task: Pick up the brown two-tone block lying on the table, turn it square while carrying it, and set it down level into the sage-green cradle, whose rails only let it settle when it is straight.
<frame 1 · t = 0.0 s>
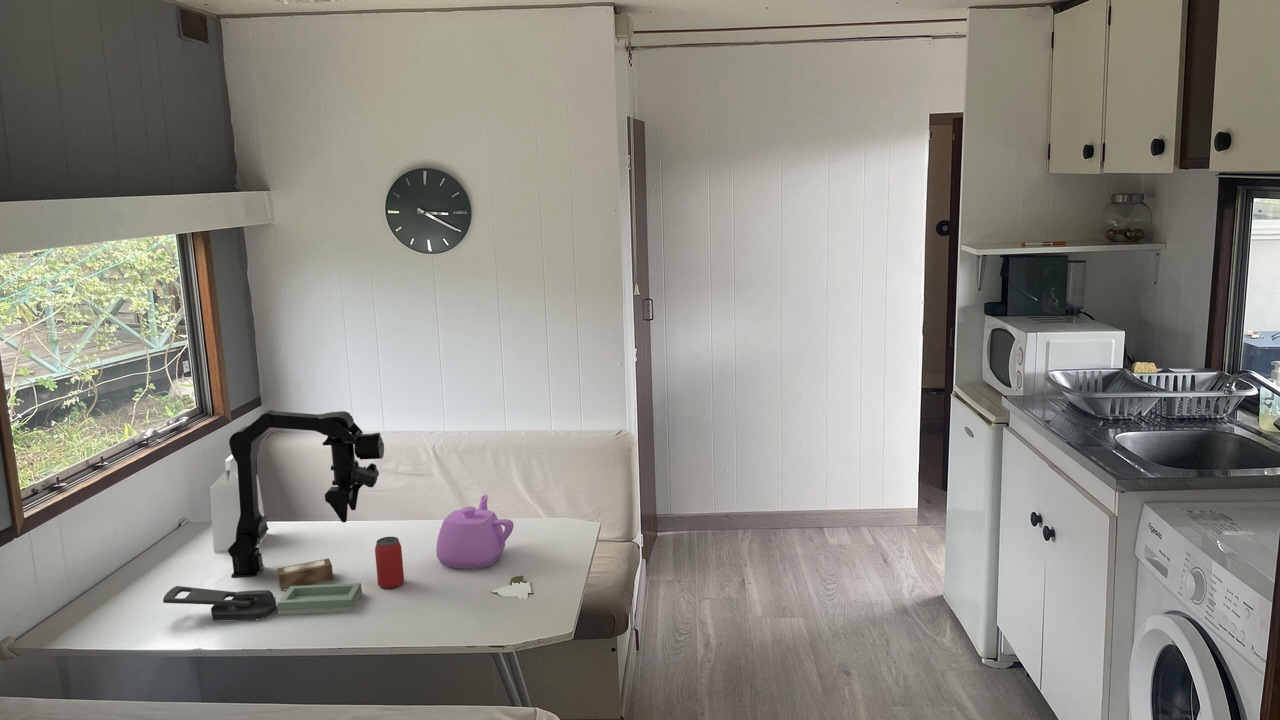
hand: (349, 516, 253), 15 cm above the table, tool pointing down, fingers open, 9 cm apart
map: (512, 596, 236), on the table
cradle: (321, 604, 234), on the table
zipper pull: (223, 615, 230), on the table
beer can: (391, 585, 244), on the table
teapot: (472, 560, 258), on the table
brown two-tone block: (306, 582, 247), on the table
milk: (241, 543, 276), on the table
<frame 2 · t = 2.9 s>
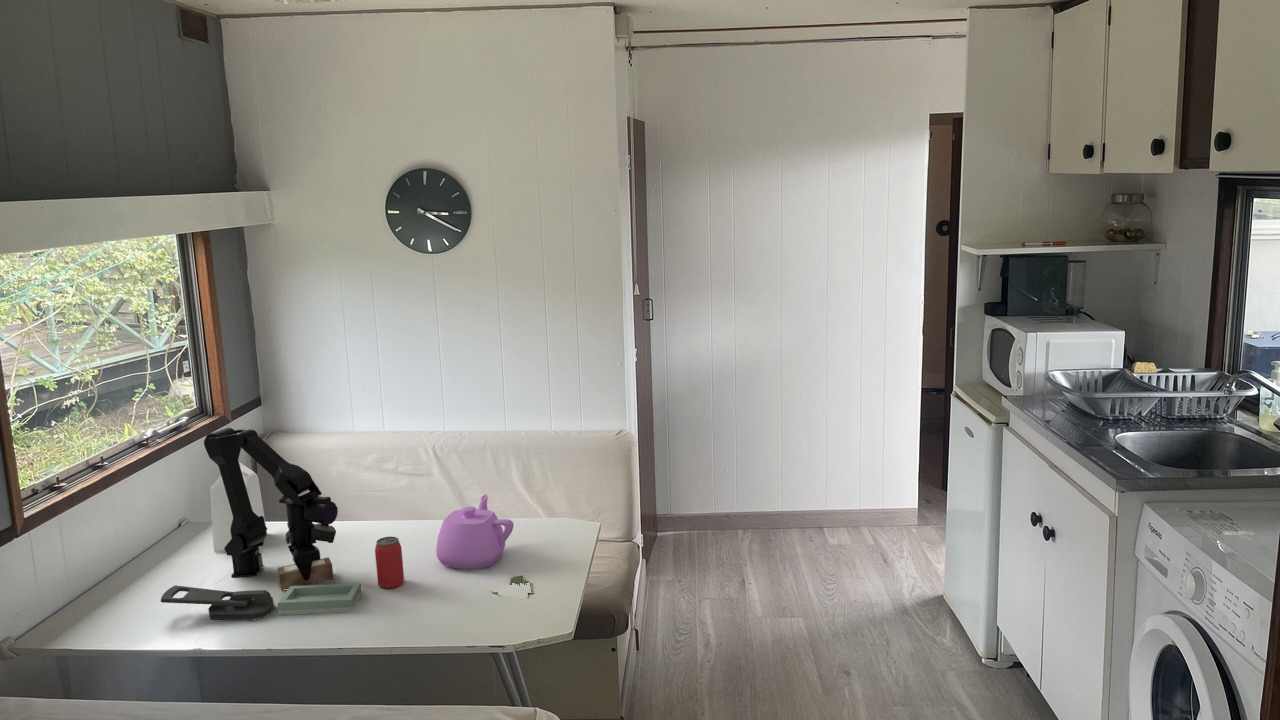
hand: (305, 576, 247), 2 cm above the table, tool pointing down, fingers closed on brown two-tone block, 5 cm apart
brown two-tone block: (306, 581, 247), on the table, touching gripper
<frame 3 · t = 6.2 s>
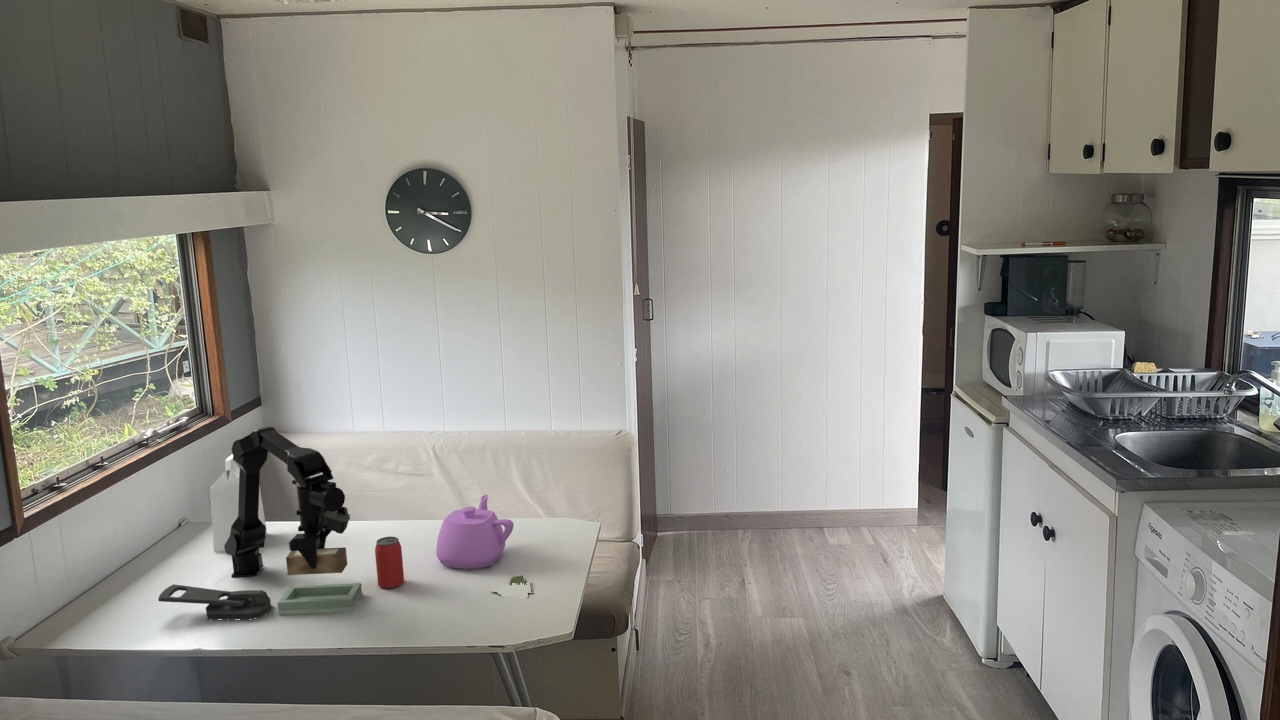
hand: (317, 563, 232), 11 cm above the table, tool pointing down, fingers closed on brown two-tone block, 5 cm apart
brown two-tone block: (317, 569, 232), point 9 cm above the table, touching gripper
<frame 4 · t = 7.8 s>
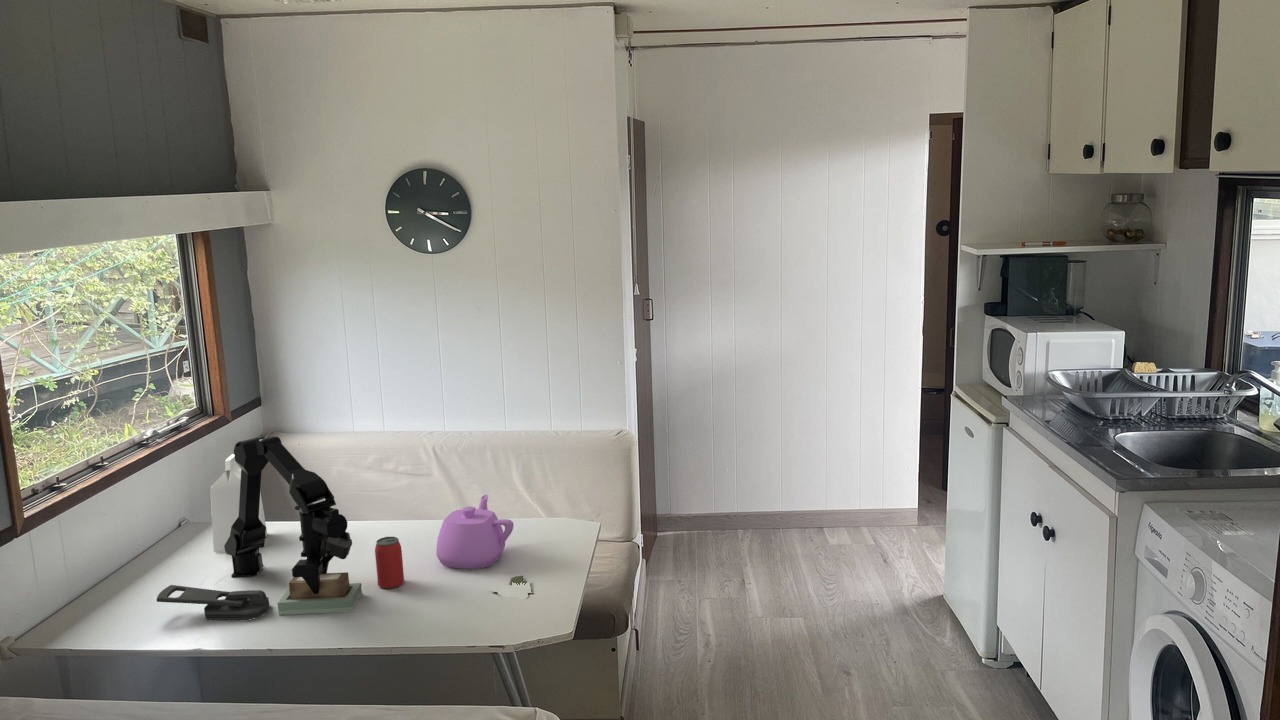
hand: (319, 588, 233), 4 cm above the table, tool pointing down, fingers closed on brown two-tone block, 5 cm apart
brown two-tone block: (320, 594, 233), point 2 cm above the table, touching gripper
when the fingers open (4 cm above the table, at t = 8.0 s): brown two-tone block drops 1 cm, resting on cradle.
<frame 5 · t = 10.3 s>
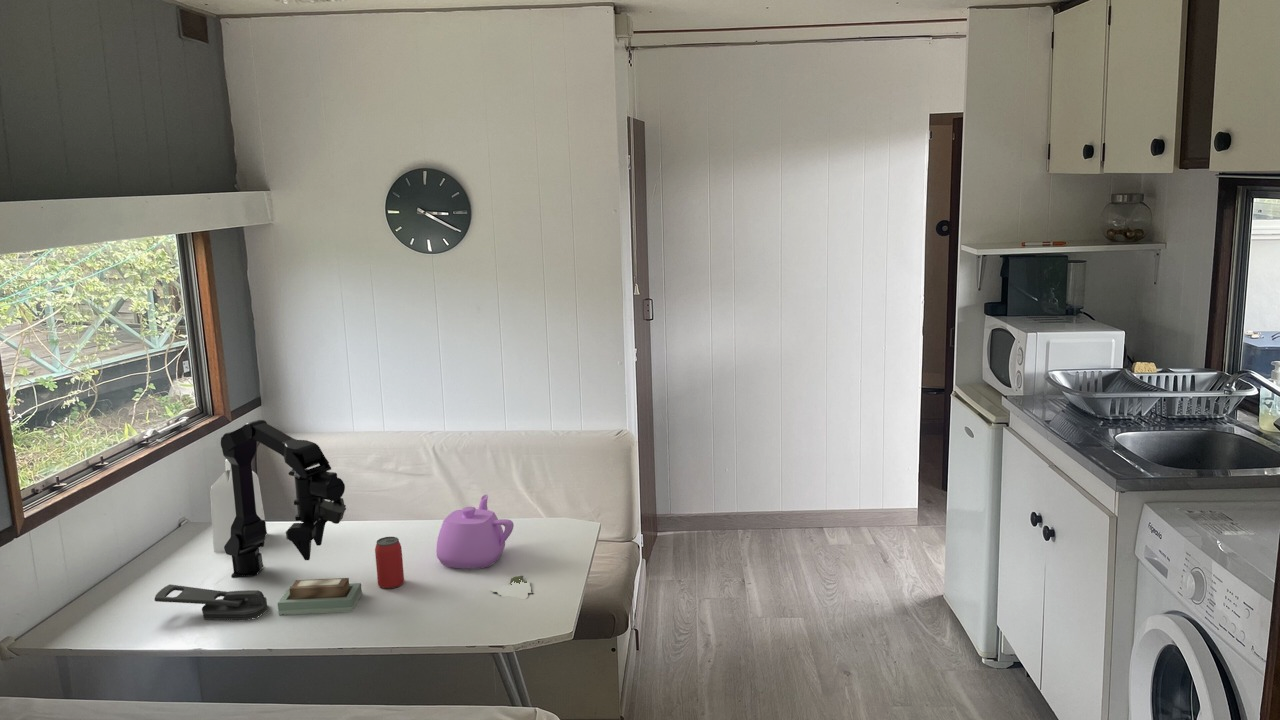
hand: (313, 552, 239), 11 cm above the table, tool pointing down, fingers open, 9 cm apart
brown two-tone block: (321, 600, 234), point 1 cm above the table, touching cradle
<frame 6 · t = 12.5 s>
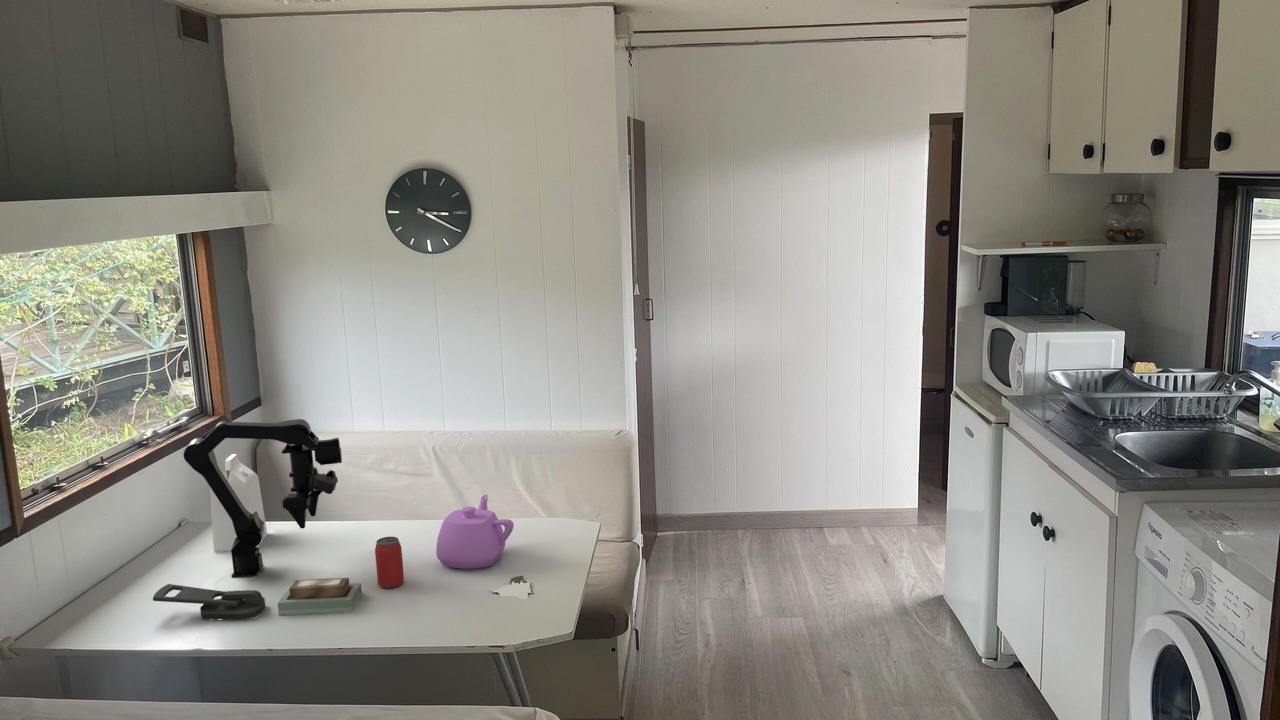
hand: (308, 522, 257), 12 cm above the table, tool pointing down, fingers open, 9 cm apart
at the end: brown two-tone block 0.0 cm off-centre on the cradle, point 1.0 cm above the cradle's base; brown two-tone block tilted 0°; the gripper is holding nothing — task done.
